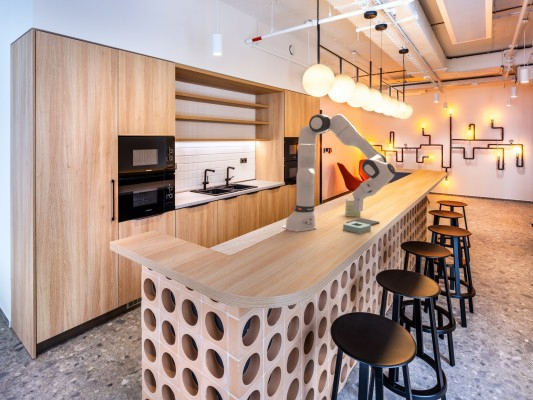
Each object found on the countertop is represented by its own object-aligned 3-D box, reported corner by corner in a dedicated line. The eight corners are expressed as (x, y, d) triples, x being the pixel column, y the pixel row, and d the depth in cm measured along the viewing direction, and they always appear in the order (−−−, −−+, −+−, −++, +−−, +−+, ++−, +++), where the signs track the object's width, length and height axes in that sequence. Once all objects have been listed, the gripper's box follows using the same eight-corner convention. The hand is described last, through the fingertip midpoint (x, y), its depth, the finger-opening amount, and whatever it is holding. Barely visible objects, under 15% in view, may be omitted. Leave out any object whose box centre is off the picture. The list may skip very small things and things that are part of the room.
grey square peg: (358, 211, 202) (360, 192, 200) (353, 210, 205) (354, 191, 203) (362, 210, 204) (363, 191, 202) (357, 209, 207) (358, 190, 205)
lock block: (359, 233, 198) (359, 228, 198) (343, 229, 207) (343, 224, 207) (370, 230, 206) (371, 224, 206) (354, 226, 215) (354, 221, 214)
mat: (364, 227, 212) (364, 226, 212) (346, 223, 222) (346, 222, 222) (379, 223, 223) (379, 221, 223) (361, 219, 234) (361, 218, 234)
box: (359, 215, 248) (359, 199, 245) (360, 216, 242) (361, 200, 240) (345, 214, 249) (345, 199, 246) (346, 216, 243) (346, 200, 241)
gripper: (379, 180, 202) (364, 193, 212) (359, 183, 189) (345, 197, 199) (385, 188, 200) (370, 201, 209) (366, 191, 187) (350, 205, 196)
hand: (357, 199), depth 204 cm, fingers closed on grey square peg, 4 cm apart
